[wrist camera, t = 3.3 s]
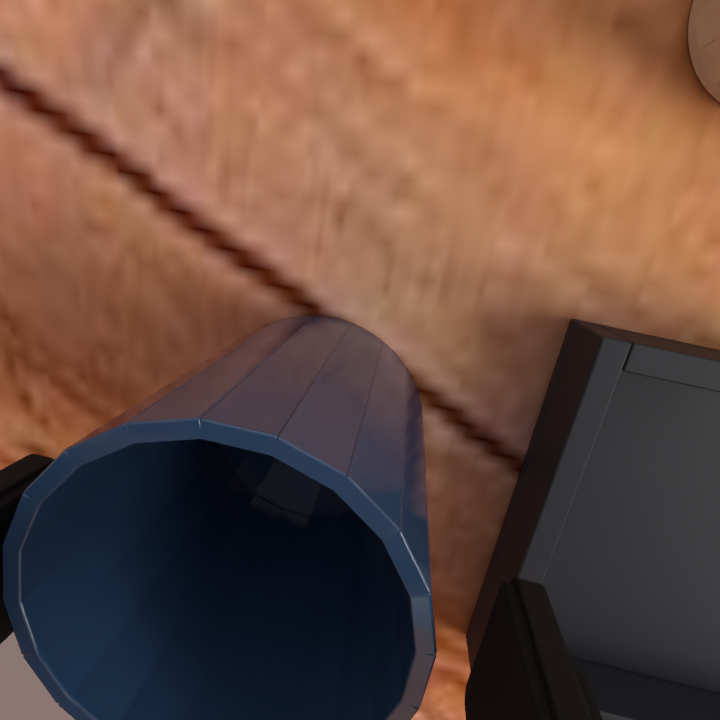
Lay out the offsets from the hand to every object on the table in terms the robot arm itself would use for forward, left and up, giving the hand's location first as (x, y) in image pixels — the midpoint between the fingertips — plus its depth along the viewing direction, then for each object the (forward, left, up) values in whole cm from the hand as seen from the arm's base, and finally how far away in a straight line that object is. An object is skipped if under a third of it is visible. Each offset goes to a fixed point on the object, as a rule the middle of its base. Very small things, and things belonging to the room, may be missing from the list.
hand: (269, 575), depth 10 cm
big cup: (-1, 0, -7) cm, 7 cm away
